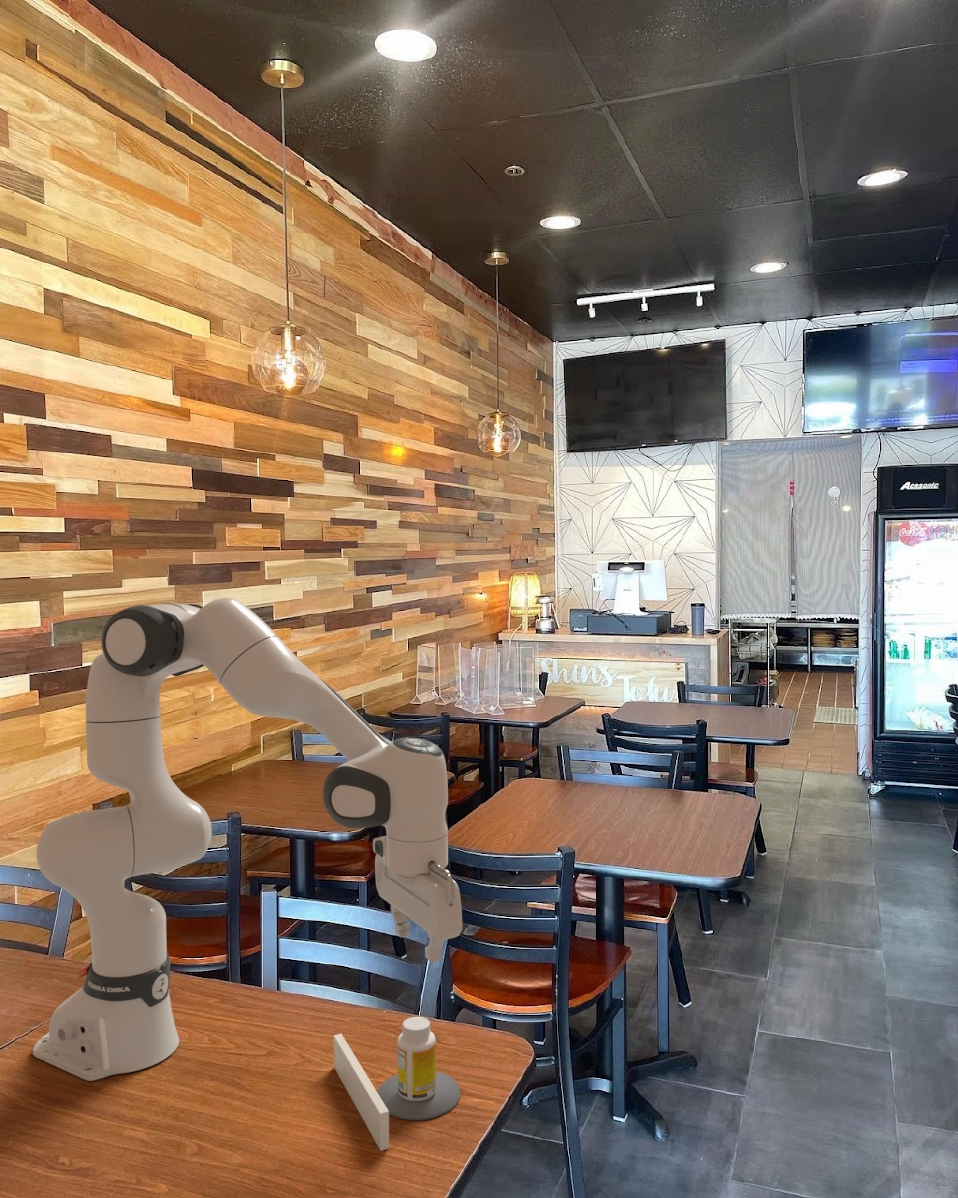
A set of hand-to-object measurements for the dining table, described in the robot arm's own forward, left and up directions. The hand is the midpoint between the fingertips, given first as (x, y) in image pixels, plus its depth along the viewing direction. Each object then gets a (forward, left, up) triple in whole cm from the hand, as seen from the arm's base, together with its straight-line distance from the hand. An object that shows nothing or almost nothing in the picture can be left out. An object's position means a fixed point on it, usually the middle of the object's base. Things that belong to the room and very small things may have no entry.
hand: (417, 947), depth 131 cm
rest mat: (0, 0, -22) cm, 22 cm away
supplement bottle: (0, 0, -22) cm, 22 cm away
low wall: (-7, -5, -22) cm, 23 cm away
